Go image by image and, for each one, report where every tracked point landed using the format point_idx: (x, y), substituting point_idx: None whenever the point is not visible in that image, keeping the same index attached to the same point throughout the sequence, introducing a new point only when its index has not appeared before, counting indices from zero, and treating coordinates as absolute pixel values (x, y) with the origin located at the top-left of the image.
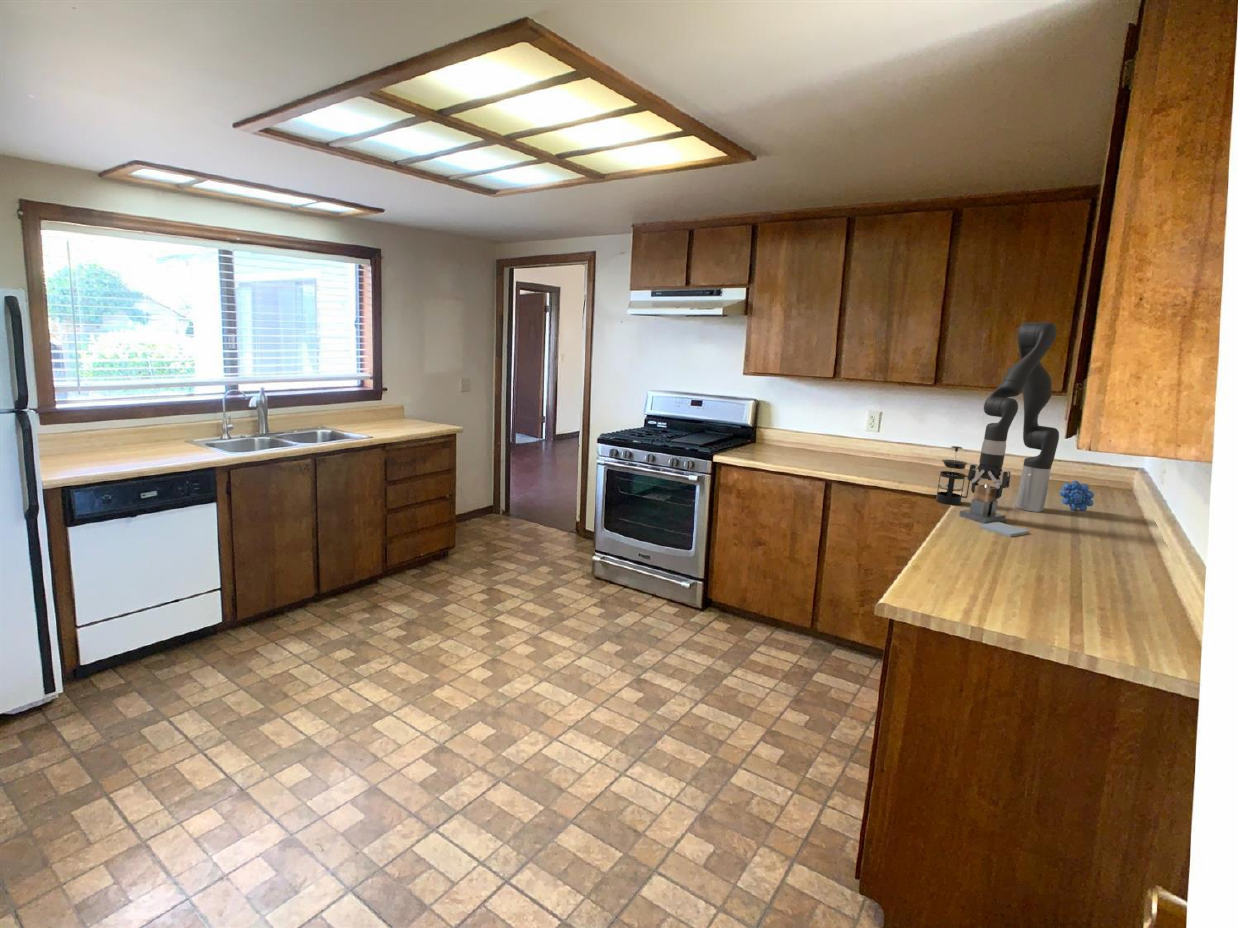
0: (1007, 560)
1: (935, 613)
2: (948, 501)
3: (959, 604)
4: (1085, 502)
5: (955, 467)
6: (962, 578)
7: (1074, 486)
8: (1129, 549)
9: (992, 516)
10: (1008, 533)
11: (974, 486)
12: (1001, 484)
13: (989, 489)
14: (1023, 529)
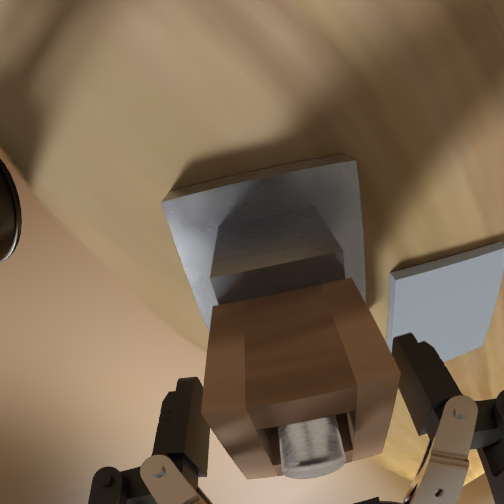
0: None
1: (471, 480)
2: (7, 249)
3: (480, 470)
4: None
5: None
6: (469, 464)
7: None
8: None
9: (355, 280)
10: (477, 347)
11: (207, 452)
12: (464, 437)
13: (378, 450)
14: (493, 256)
